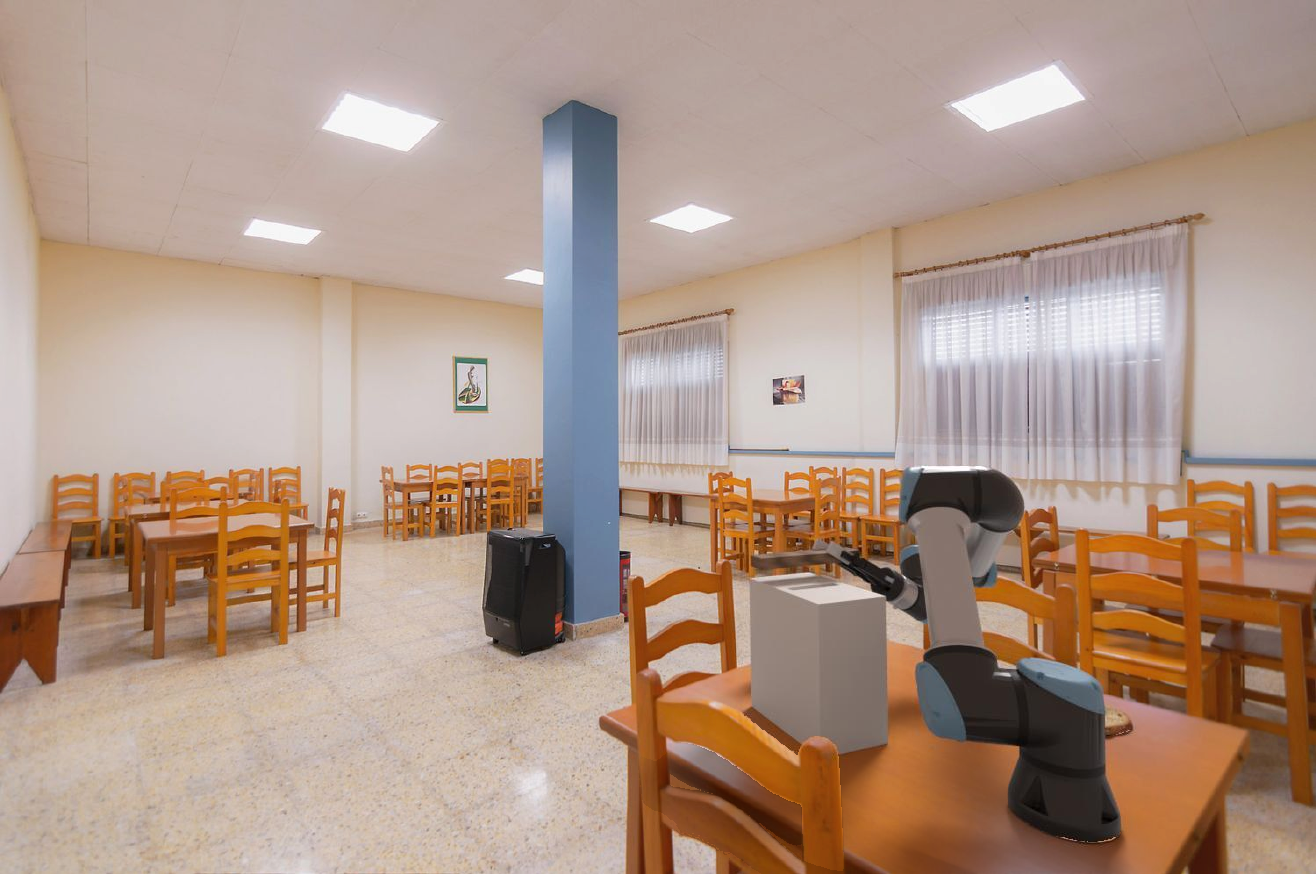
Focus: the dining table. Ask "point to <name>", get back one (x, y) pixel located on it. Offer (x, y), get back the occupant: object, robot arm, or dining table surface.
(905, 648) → the dining table surface
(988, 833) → the dining table surface
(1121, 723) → the slice of bread
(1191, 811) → the dining table surface
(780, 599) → the tall box
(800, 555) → the cover slat
